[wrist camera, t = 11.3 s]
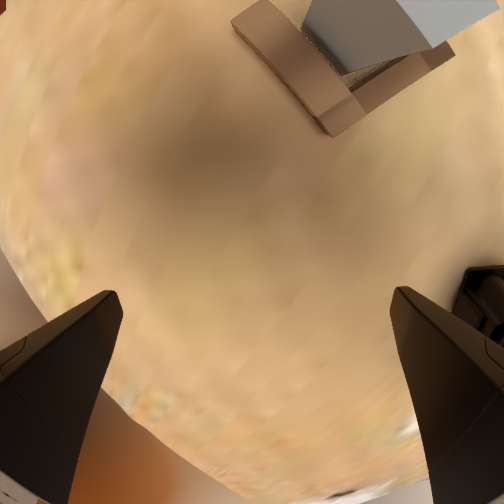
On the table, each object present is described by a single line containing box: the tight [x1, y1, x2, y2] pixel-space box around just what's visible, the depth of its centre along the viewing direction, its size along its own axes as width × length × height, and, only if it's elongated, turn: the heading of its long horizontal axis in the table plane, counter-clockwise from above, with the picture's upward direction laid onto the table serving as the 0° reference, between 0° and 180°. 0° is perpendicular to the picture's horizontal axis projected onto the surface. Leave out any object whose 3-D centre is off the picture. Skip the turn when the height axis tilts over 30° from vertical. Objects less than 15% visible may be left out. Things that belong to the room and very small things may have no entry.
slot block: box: [230, 0, 455, 138], centre depth 14 cm, size 9×10×2 cm
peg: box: [301, 0, 500, 76], centre depth 10 cm, size 4×4×12 cm
